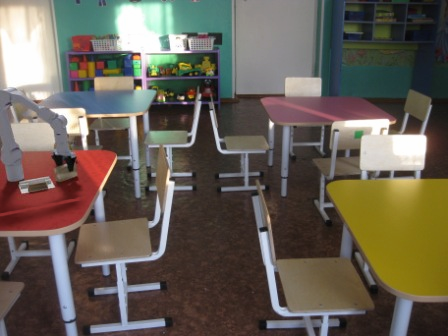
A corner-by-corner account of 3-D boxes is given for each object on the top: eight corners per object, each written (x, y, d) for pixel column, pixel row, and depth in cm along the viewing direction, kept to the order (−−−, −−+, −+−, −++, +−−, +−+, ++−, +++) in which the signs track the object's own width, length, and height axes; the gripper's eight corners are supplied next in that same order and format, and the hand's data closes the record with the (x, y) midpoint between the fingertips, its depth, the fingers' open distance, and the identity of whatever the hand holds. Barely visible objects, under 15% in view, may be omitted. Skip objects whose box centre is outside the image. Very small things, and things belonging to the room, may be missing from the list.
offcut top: (28, 186, 204) (28, 183, 204) (45, 183, 208) (44, 180, 207) (29, 188, 202) (29, 185, 201) (46, 185, 205) (45, 182, 205)
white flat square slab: (18, 186, 212) (17, 181, 212) (50, 181, 219) (49, 175, 218) (22, 196, 201) (21, 190, 200) (55, 189, 207) (54, 184, 206)
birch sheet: (56, 182, 215) (53, 167, 213) (73, 176, 223) (71, 162, 221) (60, 183, 214) (58, 168, 211) (77, 176, 222) (75, 163, 219)
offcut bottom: (28, 189, 205) (27, 186, 204) (47, 186, 208) (46, 183, 208) (28, 191, 202) (28, 188, 202) (48, 188, 206) (47, 185, 205)
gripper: (44, 142, 213) (48, 170, 218) (65, 146, 206) (69, 175, 210) (57, 138, 219) (61, 166, 223) (77, 142, 211) (81, 170, 216)
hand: (65, 170), depth 217 cm, fingers open, 7 cm apart
